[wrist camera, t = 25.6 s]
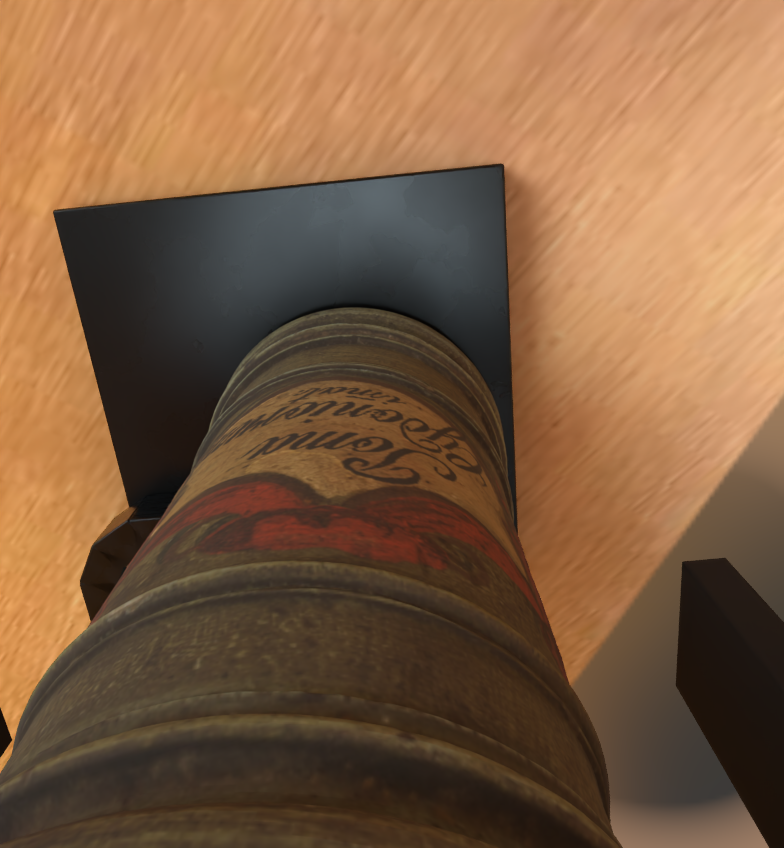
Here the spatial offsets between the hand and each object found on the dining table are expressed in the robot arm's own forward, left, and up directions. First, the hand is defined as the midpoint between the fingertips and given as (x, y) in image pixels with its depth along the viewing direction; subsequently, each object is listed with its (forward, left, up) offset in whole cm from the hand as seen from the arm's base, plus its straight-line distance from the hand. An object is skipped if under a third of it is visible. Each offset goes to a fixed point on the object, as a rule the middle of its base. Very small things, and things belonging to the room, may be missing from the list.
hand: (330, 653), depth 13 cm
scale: (+1, +1, -11) cm, 11 cm away
